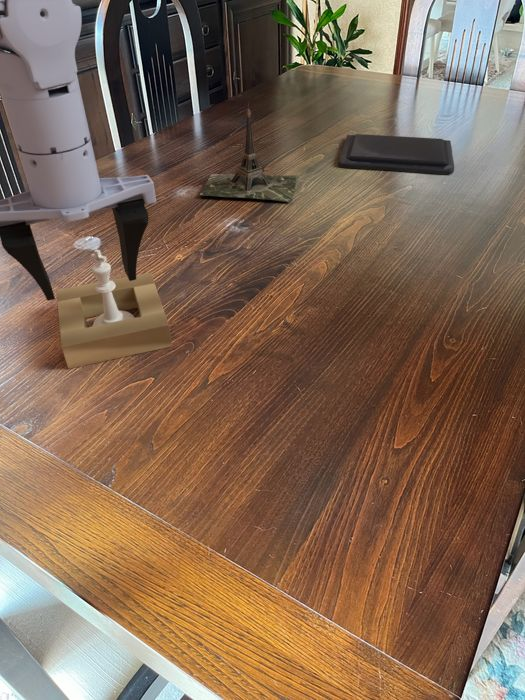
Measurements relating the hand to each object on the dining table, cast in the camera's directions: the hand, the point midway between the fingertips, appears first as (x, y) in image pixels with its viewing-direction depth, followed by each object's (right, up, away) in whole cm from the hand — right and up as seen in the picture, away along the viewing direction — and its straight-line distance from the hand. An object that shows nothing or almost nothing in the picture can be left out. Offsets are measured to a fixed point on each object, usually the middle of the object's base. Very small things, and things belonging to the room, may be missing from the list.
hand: (91, 284), depth 53 cm
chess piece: (0, -4, +10) cm, 11 cm away
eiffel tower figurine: (+14, +20, +39) cm, 46 cm away
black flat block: (+41, +29, +48) cm, 70 cm away
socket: (0, -4, +10) cm, 11 cm away
